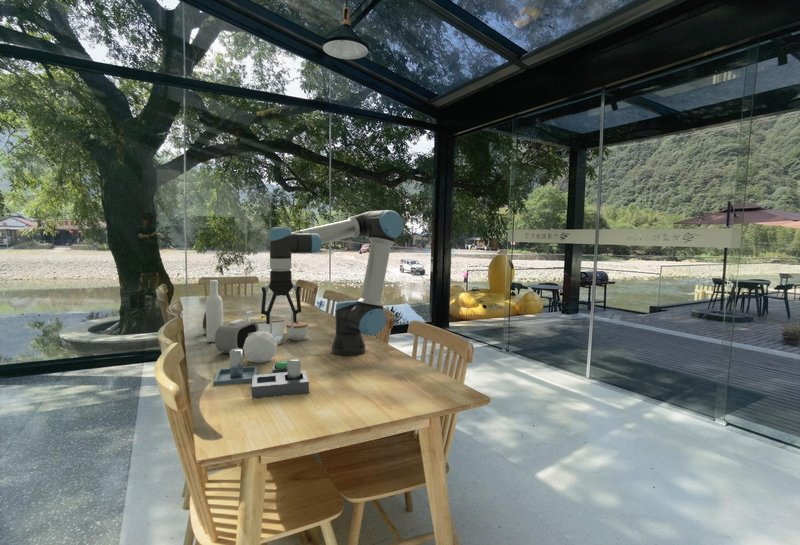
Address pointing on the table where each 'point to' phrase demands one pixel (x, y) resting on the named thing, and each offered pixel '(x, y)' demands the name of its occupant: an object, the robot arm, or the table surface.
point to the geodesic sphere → (260, 347)
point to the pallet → (278, 385)
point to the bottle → (213, 311)
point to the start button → (281, 364)
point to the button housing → (277, 369)
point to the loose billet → (236, 363)
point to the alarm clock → (234, 334)
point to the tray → (224, 378)
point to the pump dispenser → (204, 323)
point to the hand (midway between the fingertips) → (281, 332)
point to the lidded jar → (297, 330)
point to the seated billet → (293, 369)
